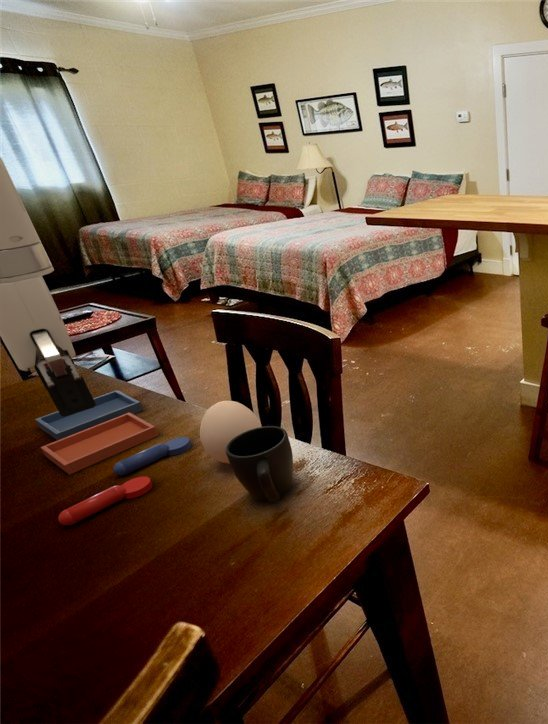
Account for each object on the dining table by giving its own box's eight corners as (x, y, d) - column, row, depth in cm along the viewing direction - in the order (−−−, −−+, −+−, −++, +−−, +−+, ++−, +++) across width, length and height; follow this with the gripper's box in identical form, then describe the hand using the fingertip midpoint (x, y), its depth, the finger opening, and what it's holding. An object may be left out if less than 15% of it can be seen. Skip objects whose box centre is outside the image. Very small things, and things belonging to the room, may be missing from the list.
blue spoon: (122, 481, 77) (116, 470, 76) (111, 474, 79) (105, 462, 78) (196, 446, 86) (191, 435, 85) (184, 439, 88) (180, 429, 87)
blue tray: (60, 443, 87) (56, 434, 86) (39, 427, 91) (34, 419, 91) (143, 410, 97) (140, 401, 96) (120, 397, 102) (117, 389, 101)
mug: (244, 532, 67) (224, 479, 63) (242, 484, 76) (225, 435, 72) (307, 511, 71) (292, 459, 67) (298, 467, 80) (284, 420, 76)
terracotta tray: (69, 474, 79) (64, 465, 78) (45, 456, 83) (40, 447, 82) (158, 435, 89) (155, 426, 88) (133, 420, 94) (129, 412, 93)
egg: (279, 447, 85) (263, 392, 80) (243, 478, 78) (223, 419, 73) (238, 442, 87) (219, 387, 82) (199, 472, 79) (175, 414, 74)
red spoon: (68, 533, 67) (61, 520, 66) (57, 523, 69) (50, 510, 68) (158, 487, 76) (152, 475, 75) (145, 479, 78) (140, 467, 77)
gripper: (-54, 259, 54) (19, 389, 62) (-45, 285, 44) (41, 436, 52) (36, 247, 59) (94, 368, 67) (62, 268, 49) (126, 408, 57)
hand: (71, 398), depth 59 cm, fingers open, 9 cm apart
